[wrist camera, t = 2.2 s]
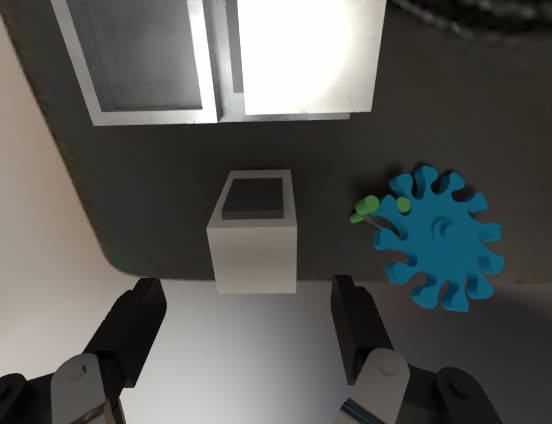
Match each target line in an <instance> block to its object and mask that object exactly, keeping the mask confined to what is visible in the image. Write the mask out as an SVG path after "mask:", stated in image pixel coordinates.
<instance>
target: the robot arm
mask: <svg viewBox="0 0 552 424" xmlns="http://www.w3.org/2000/svg"><path fill="white" fill-rule="evenodd" d="M166 308H167V302H166V298H165V295H164V292H163V288H162V285H161V282H160V279H159V278H141V279H139V280H138V282H137V283H136V285H135V287H134V288H133V290H128V291H126V292H125V293H124V294H123V295H121V296H120V297H119V298H118V299H117V300H116V302H115V303H114V305H113V306H112V308H111V311H109V313H108V314H107V316H106V317H105V320H103V322H102V323H101V325H100V326H99V328H98V329H97V331H96V333H95V334H94V336H93V337H92V339H91V340H90V342H89V343H88V345H87V346H86V348H85V349H84V351H83V352H82V353H81V354H79V355H76V356H74V357H72V358H70V359H69V360H67V361H66V362H64V363H63V364H62V365H61V366H60V367H59V368H58V369H57V370H56V372H54V373H51V374H48V375H45V376H41V377H38V378H35V379H31V380H28V381H27V380H26V379H25V377H24V376H23V375H22V374H19V373H13V374H8V375H5V376H2V377H0V424H126V421H125V417H124V413H123V409H122V405H121V401H120V398H119V396H120V394H121V392H122V390H123V388H134V387H135V385H136V382H137V380H138V377H139V375H140V373H141V370H142V368H143V366H144V363H145V361H146V359H147V356H148V354H149V351H150V349H151V347H152V345H153V342H154V340H155V338H156V335H157V333H158V331H159V328H160V326H161V324H162V321H163V319H164V317H165V313H166ZM331 312H332V316H333V321H334V325H335V329H336V334H337V337H338V343H339V347H340V351H341V356H342V360H343V365H344V369H345V373H346V378H347V382H348V385H354V387H353V389H352V391H351V393H350V396H349V397H348V399H347V401H346V402H344V403H343V405H342V406H341V408H340V410H339V412H338V415H337V416H336V418H335V421H334V423H333V424H503V423H502V421H501V420H500V418H499V416H498V415H497V413H496V411H495V409H494V407H493V406H492V404H491V402H490V400H489V399H488V397H487V395H486V394H485V392H484V390H483V388H482V387H481V385H480V384H479V383H478V382H477V381H476V380H475V379H474V378H473V377H472V376H471V375H469V374H468V373H466V372H464V371H462V370H460V369H458V368H453V367H445V368H442V369H441V370H440V371H439V372H438V373H434V372H430V371H427V370H423V369H420V368H417V367H414V366H412V365H410V364H408V363H406V362H405V360H404V359H403V358H402V357H401V356H400V355H399V354H398V353H396V352H395V350H394V348H393V346H392V344H391V342H390V339H389V337H388V334H387V332H386V329H385V327H384V325H383V322H382V320H381V317H380V316H379V313H378V310H377V308H376V306H375V303H374V300H373V298H372V295H371V294H370V293H369V292H368V291H367V290H366V289H365V288H364V287H363V286H358V287H355V285H354V282H353V279H352V277H351V275H334V276H333V283H332V292H331Z"/></svg>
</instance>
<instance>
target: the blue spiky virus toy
mask: <svg viewBox="0 0 552 424" xmlns="http://www.w3.org/2000/svg"><path fill="white" fill-rule="evenodd" d="M414 177H415V180H416V183H417V195H416V199H415V198H414V197H413V196H412V194H411V188H412V185H413V179H412V177H411V175H410V174H402V175H399V176H397V177H395V178H394V179H392V180H390V181H389V186H390V188H391V189H392V190H393V191H394V192H395V193H396V195H397V196H398V199H394V198H393V197H392V196H391V195H387V196H385V197H382V198H381V199H379V200H378V199H377V198H376V197H375V196H373V195H370V196H367V197H365V198H364V199H362V200H360V201H358V202H357V203H356V204H355V210H356V213H354V214H352V215H351V216H350V221H351V222H352V223H356V222H359V221H361V220H365V221H367V222H369V223H370V224H372V225H374V226H376V227H378V228H380V229H379V230H375V231H374V234H373V247H374V248H376V249H378V250H382V249H387V248H391V249H392V250H400V251H402V252H404V253H405V254H406V255H407V256H408V258H409V264H408V266H407V265H405V264H403V263H391V264H388V265H387V266H386V267H385V269H386V273H387V276H388V278H389V280H390V282H391V284H405V283H407V282H408V281H409V279H410V278H411V277H412V276H413V275H414V274H415V273H417V272H419V271H422V272H424V273H425V275H426V277H427V282H426V284H425V285H424V286H421V287H415V288H414V289H413V290H412V291H411V297H412V299H413V300H414V301H415V302H416V303H417V304H418V305H420V306H421V307H423V308H430V309H433V308H434V307H435V306H436V305H437V302H438V292H439V289H440V287H441V285H442V284H443V283H444V282H445V281H446V280H447V282H448V285H449V288H448V291H447V292H446V293H445V294H444V295H443V296H442V299H441V304H442V307H443V308H445V309H448V310H454V311H462V312H467V311H468V308H469V304H468V301H467V298H466V295H465V291H464V281H465V275H466V276H467V286H466V291H467V294H468V296H469V297H470V298H474V299H485V298H488V297H489V296H491V295H492V294H493V289H492V286H491V285H490V284H489V283H488V282H487V281H486V279H485V278H484V277H483V275H482V273H481V271H480V269H479V266H480V268H481V270H482V271H483V272H484V273H486V274H496V273H499V272H500V271H501V270H502V268H503V265H504V260H503V258H502V257H501V256H499V255H497V254H494V253H492V252H490V251H489V250H488V249H487V248H486V247H485V246H484V245H483V244H482V242H481V241H480V240H479V238H478V236H479V237H480V239H481V240H483V241H484V242H491V241H498V240H500V238H501V230H500V225H499V224H497V223H488V224H483V223H480V222H477V221H476V220H474V219H472V218H471V217H470V216H469V213H468V211H469V212H471V213H475V212H479V211H482V210H486V209H487V208H488V206H487V203H486V200H485V198H484V197H483V195H482V193H476V194H473V195H470V196H467V197H466V198H465V199H464V200H463V201H462V202H456V201H454V200H453V198H452V196H451V192H453V191H456V190H458V189H461V188H463V187H464V186H465V181H464V180H463V179H462V178H461V177H460V176H459V175H458V174H457V173H455V172H452V173H450V174H448V175H446V176H444V177H442V179H441V186H440V189H439V191H438V193H437V194H434V193H433V192H432V190H431V183H432V182H433V181H435V180H436V179H437V177H438V172H437V170H436V169H435V168H432V167H429V166H422V167H420V168H418V169H416V170H415V172H414ZM401 213H403V215H401ZM477 259H478V261H477ZM478 262H479V265H478Z"/></svg>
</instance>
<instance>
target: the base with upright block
mask: <svg viewBox="0 0 552 424" xmlns="http://www.w3.org/2000/svg"><path fill="white" fill-rule="evenodd" d="M51 2H52V5H53V8H54V11H55V14H56V17H57V20H58V23H59V26H60V29H61V32H62V35H63V38H64V40H65V43H66V46H67V49H68V52H69V55H70V58H71V61H72V64H73V67H74V70H75V73H76V75H77V78H78V81H79V84H80V87H81V90H82V93H83V96H84V99H85V102H86V105H87V108H88V111H89V113H90V116H91V119H92V122H93V125H94V126H102V125H144V124H186V123H218V122H246V121H288V120H330V119H349V117H350V112H371V107H372V100H373V92H374V85H375V78H376V71H377V64H378V57H379V49H380V42H381V35H382V28H383V21H384V13H385V6H386V0H51Z"/></svg>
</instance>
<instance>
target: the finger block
mask: <svg viewBox="0 0 552 424" xmlns="http://www.w3.org/2000/svg"><path fill="white" fill-rule="evenodd" d="M206 229H207V235H208V240H209V246H210V252H211V257H212V263H213V268H214V274H215V280H216V285H217V291H218V294H244V293H245V294H246V293H296V259H297V222H296V213H295V204H294V196H293V187H292V178H291V170H242V171H230V174H229V176H228V178H227V181H226V183H225V186H224V188H223V190H222V193H221V195H220V197H219V200H218V202H217V204H216V207H215V209H214V211H213V214H212V216H211V219H210V221H209V223H208V226H207V228H206Z"/></svg>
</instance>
